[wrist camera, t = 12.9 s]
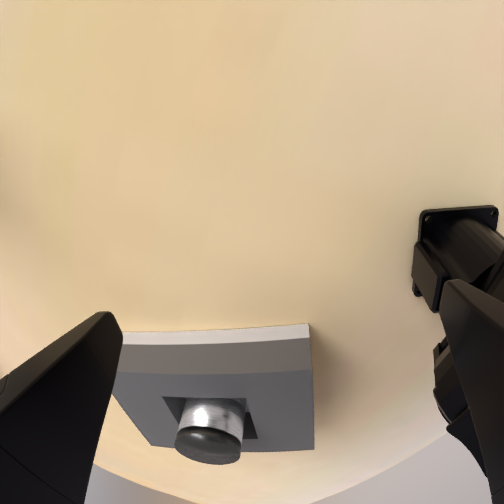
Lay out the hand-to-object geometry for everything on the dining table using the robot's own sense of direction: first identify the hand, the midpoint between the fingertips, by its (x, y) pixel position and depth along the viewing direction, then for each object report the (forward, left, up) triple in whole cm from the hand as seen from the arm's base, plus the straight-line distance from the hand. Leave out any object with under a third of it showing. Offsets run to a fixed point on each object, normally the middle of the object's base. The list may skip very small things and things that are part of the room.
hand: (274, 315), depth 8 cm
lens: (+7, +17, -10) cm, 21 cm away
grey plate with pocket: (+7, +17, -12) cm, 22 cm away
